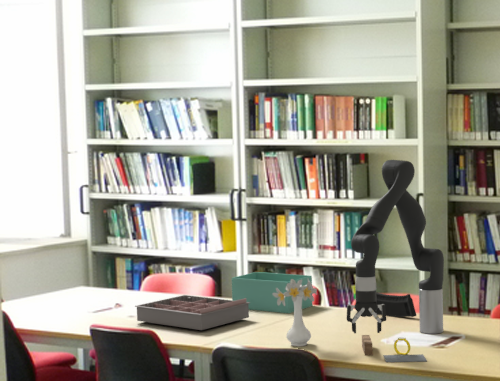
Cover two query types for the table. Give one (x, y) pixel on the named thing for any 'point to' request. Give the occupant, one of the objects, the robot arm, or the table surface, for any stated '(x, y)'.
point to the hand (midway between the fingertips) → (366, 332)
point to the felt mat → (405, 358)
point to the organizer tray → (193, 312)
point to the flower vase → (297, 310)
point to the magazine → (396, 305)
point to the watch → (402, 340)
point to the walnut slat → (367, 345)
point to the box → (267, 290)
